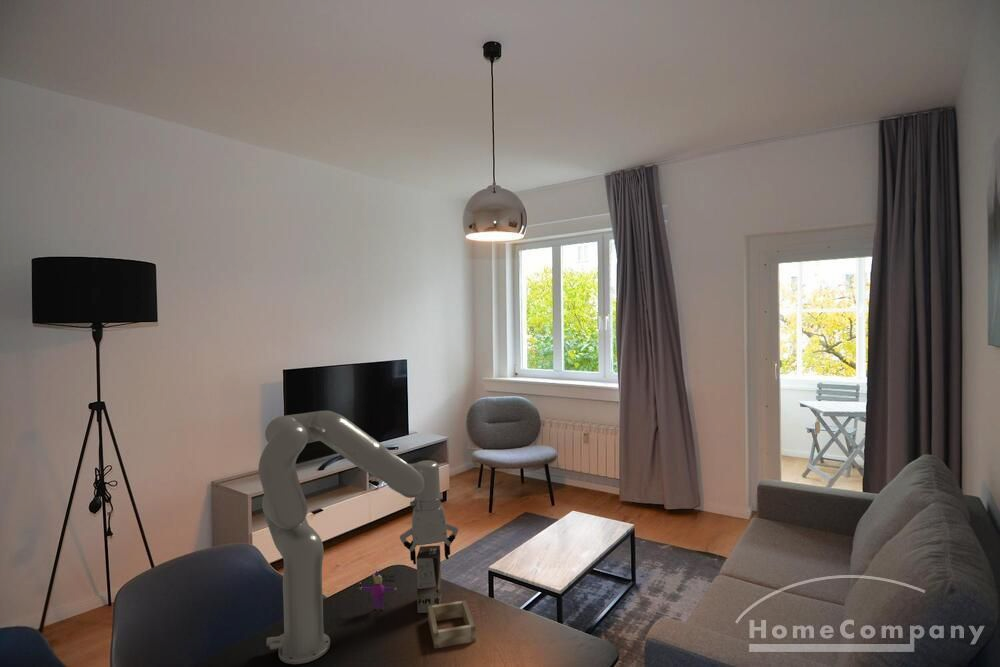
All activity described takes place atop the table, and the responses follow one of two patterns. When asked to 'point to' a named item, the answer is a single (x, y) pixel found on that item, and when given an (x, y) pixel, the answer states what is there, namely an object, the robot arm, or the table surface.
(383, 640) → the table surface
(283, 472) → the robot arm
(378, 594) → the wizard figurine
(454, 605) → the open wooden box
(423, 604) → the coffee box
